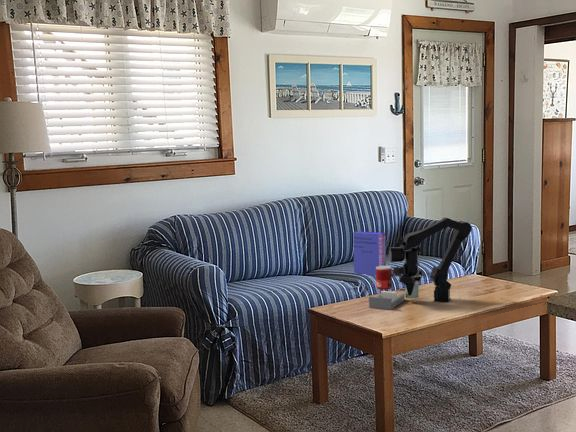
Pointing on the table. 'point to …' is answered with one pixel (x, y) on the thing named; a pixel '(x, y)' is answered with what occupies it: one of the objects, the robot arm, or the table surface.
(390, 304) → the pusher lane
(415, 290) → the jar
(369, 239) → the cereal box
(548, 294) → the table surface
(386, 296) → the plate
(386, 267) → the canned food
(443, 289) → the robot arm
